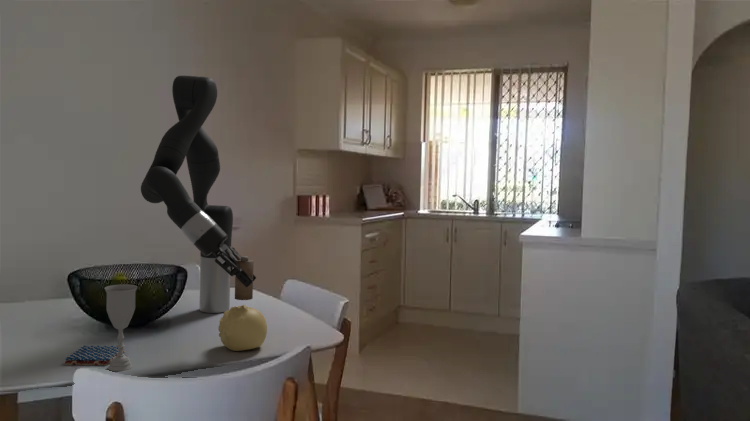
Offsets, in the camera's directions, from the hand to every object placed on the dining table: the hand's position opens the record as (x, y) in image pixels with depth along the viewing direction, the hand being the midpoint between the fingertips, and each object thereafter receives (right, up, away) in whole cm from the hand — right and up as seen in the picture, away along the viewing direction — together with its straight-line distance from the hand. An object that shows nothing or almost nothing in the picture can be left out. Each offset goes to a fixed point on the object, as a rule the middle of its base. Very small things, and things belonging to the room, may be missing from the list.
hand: (251, 282), depth 150 cm
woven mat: (-34, -17, -11) cm, 40 cm away
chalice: (-26, -17, -17) cm, 35 cm away
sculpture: (-3, -17, +1) cm, 17 cm away
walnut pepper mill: (-2, -4, 0) cm, 5 cm away
